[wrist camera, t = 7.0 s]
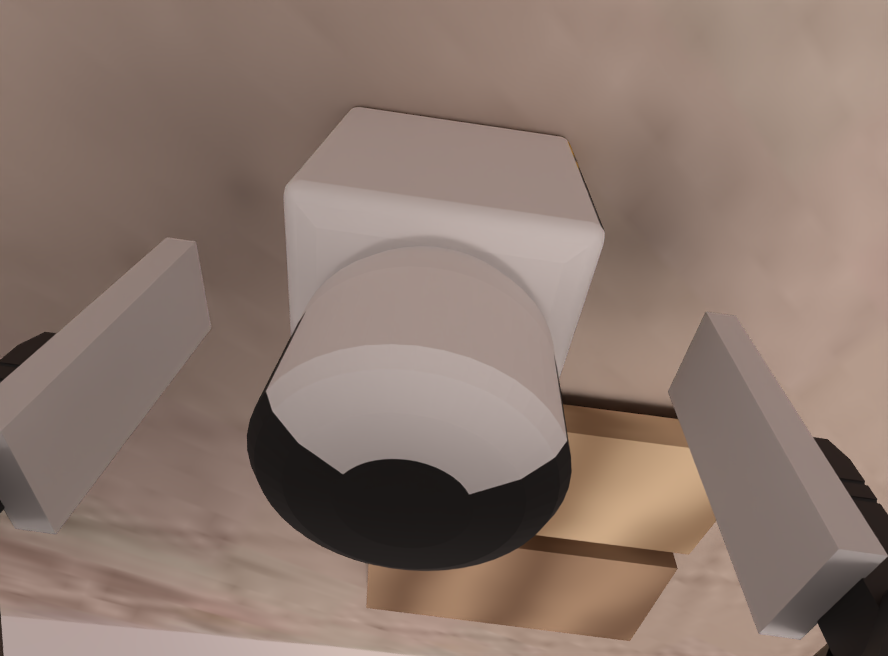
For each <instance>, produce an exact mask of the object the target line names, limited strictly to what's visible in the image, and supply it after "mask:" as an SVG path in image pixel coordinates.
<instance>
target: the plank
mask: <svg viewBox="0 0 888 656" xmlns="http://www.w3.org/2000/svg"><path fill="white" fill-rule="evenodd" d="M563 408H564V415H565V421H566V427H567V434H568V440H569V446H570V453H571V468H572V473H571V479H570V484H569V488H568V491H567V493H566V496H565V498H564V501H563V502H562V504H561V506H560V507H559V509H558V510H557V512H556V513H555V515H554V516H553V517H552V518H551V519H550V520H549V521H548V522H547V523H546V524H545V525H544V527H543V528H542V529H541V530H540V531H539V532H538V533H537V534H536V535H540V536H547V537H555V538H563V539H571V540H579V541H587V542H595V543H602V544H610V545H618V546H626V547H634V548H642V549H650V550H658V551H665V552H673V553H681V554H690V552H691V551H692V550H693V549H694V548H695V546H696V545H697V544H698V543H699V541H700V540H701V539H702V538H703V536H704V535H705V534H706V533H707V531H708V530H709V529H710V528H711V527H712V525H713V524H714V523H715V522H716V518H715V516H714V513H713V510H712V508H711V505H710V502H709V500H708V497H707V494H706V492H705V489H704V486H703V484H702V481H701V478H700V476H699V473H698V470H697V468H696V465H695V462H694V460H693V457H692V454H691V452H690V449H689V446H688V444H687V441H686V438H685V436H684V433H683V430H682V428H681V425H680V422H679V420H678V419H673V418H665V417H658V416H650V415H642V414H634V413H627V412H619V411H611V410H603V409H595V408H588V407H580V406H572V405H564V404H563Z"/></svg>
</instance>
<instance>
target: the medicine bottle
mask: <svg viewBox="0 0 888 656" xmlns="http://www.w3.org/2000/svg"><path fill="white" fill-rule="evenodd" d="M283 198H284V216H285V235H286V253H287V272H288V291H289V309H290V328H291V337H290V339H289V341H288V343H287V345H286V347H285V349H284V351H283V353H282V355H281V357H280V359H279V361H278V363H277V365H276V367H275V369H274V371H273V373H272V375H271V377H270V379H269V381H268V383H267V385H266V387H265V389H264V391H263V393H262V395H261V396H260V398H259V400H258V402H257V404H256V407H255V409H254V411H253V414H252V416H251V418H250V422H249V427H248V433H247V451H248V455H249V459H250V464H251V467H252V469H253V471H254V474H255V476H256V478H257V481H258V483H259V485H260V487H261V489H262V491H263V493H264V495H265V496H266V498H267V499H268V501H269V502H270V504H271V505H272V507H273V508H274V509H275V510H276V511H277V512H278V514H279V515H280V516H281V517H282V518H283V519H284V520H285V521H286V522H288V523H289V524H290V525H291V526H292V527H293V528H294V529H296V530H297V531H299V532H300V533H301V534H303V535H304V536H305V537H307V538H308V539H310V540H312V541H314V542H315V543H317V544H319V545H321V546H322V547H324V548H327V549H329V550H331V551H333V552H335V553H337V554H340V555H343V556H345V557H348V558H351V559H354V560H357V561H361V562H364V563H368V564H371V565H376V566H381V567H386V568H392V569H401V570H412V571H440V570H451V569H459V568H465V567H470V566H474V565H479V564H482V563H485V562H488V561H491V560H495V559H497V558H499V557H502V556H504V555H506V554H508V553H510V552H512V551H514V550H515V549H517V548H519V547H521V546H522V545H524V544H525V543H526V542H528V541H529V540H530V539H531V538H533V537H534V536H535V535H536V534H537V533H538V532H539V531H540V530H541V529H542V528H543V527H544V525H545V524H546V523H547V522H548V521H549V520H550V519H551V518H552V517H553V516H554V515H555V513H556V512H557V510H558V509H559V507H560V506H561V504H562V502H563V501H564V498H565V496H566V493H567V491H568V488H569V484H570V479H571V473H572V468H571V453H570V446H569V440H568V434H567V427H566V421H565V415H564V408H563V402H562V396H561V389H560V383H559V378H560V375H561V372H562V369H563V366H564V363H565V360H566V357H567V354H568V350H569V347H570V344H571V341H572V338H573V335H574V332H575V329H576V326H577V323H578V320H579V317H580V314H581V311H582V308H583V305H584V302H585V299H586V296H587V293H588V290H589V287H590V284H591V281H592V278H593V275H594V272H595V268H596V265H597V262H598V259H599V256H600V253H601V250H602V247H603V244H604V240H605V231H604V229H603V226H602V224H601V221H600V219H599V216H598V214H597V211H596V209H595V206H594V203H593V201H592V198H591V196H590V193H589V191H588V188H587V186H586V183H585V181H584V178H583V176H582V173H581V171H580V168H579V166H578V163H577V161H576V158H575V156H574V153H573V151H572V148H571V146H570V144H569V142H568V140H567V139H565V138H563V137H560V136H553V135H546V134H539V133H533V132H526V131H519V130H512V129H505V128H499V127H492V126H485V125H478V124H471V123H465V122H458V121H451V120H444V119H438V118H431V117H424V116H417V115H410V114H404V113H397V112H390V111H383V110H376V109H370V108H363V107H355V108H352V109H351V110H350V111H349V112H348V113H347V114H346V115H345V116H344V118H343V119H342V120H341V121H340V122H339V123H338V125H337V126H336V127H335V128H334V129H333V131H332V132H331V133H330V134H329V135H328V136H327V138H326V139H325V140H324V141H323V142H322V144H321V145H320V146H319V147H318V148H317V149H316V151H315V152H314V153H313V154H312V155H311V156H310V158H309V159H308V160H307V161H306V162H305V164H304V165H303V166H302V167H301V168H300V169H299V171H298V172H297V173H296V174H295V175H294V177H293V178H292V179H291V180H290V181H289V182H288V184H287V185H286V187H285V191H284V197H283Z"/></svg>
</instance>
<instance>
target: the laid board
mask: <svg viewBox="0 0 888 656" xmlns="http://www.w3.org/2000/svg"><path fill="white" fill-rule="evenodd" d="M677 569H678V568H677V565H676V562H675V558H674V555H673V552H665V551H658V550H650V549H642V548H634V547H626V546H618V545H610V544H602V543H595V542H587V541H579V540H571V539H563V538H555V537H547V536H540V535H535V536H534V537H533V538H531V539H530V540H529V541H528V542H526V543H525V544H524V545H522V546H521V547H519V548H517V549H515V550H514V551H512V552H510V553H508V554H506V555H504V556H502V557H499V558H497V559H495V560H491V561H488V562H485V563H482V564H479V565H474V566H470V567H465V568H459V569H451V570H440V571H412V570H401V569H392V568H386V567H381V566H376V565H371V564H369V565H368V586H367V607H366V608H372V609H380V610H388V611H396V612H404V613H412V614H420V615H428V616H436V617H444V618H452V619H460V620H468V621H475V622H483V623H491V624H499V625H507V626H515V627H523V628H531V629H539V630H547V631H555V632H563V633H571V634H579V635H586V636H594V637H602V638H610V639H618V640H626V641H630V640H631V638H632V637H633V635H634V634H635V632H636V631H637V629H638V628H639V626H640V625H641V623H642V622H643V620H644V619H645V617H646V616H647V614H648V613H649V611H650V610H651V608H652V607H653V605H654V604H655V602H656V601H657V599H658V598H659V596H660V594H661V593H662V591H663V590H664V588H665V587H666V585H667V584H668V582H669V581H670V579H671V578H672V576H673V575H674V573H675V572H676V570H677Z"/></svg>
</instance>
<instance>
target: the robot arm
mask: <svg viewBox="0 0 888 656" xmlns="http://www.w3.org/2000/svg"><path fill="white" fill-rule="evenodd" d="M210 330H211V322H210V317H209V311H208V305H207V300H206V294H205V289H204V283H203V277H202V272H201V266H200V260H199V255H198V249H197V244H196V241H190V240H183V239H176V238H168V237H166V238H165V239H164V240H163V241H162V242H161V243H159V244H158V245H157V246H156V247H155V248H154V249H153V250H151V251H150V252H149V253H148V254H147V255H146V256H145V257H143V258H142V259H141V260H140V261H139V262H138V263H137V264H135V265H134V266H133V267H132V268H131V269H130V270H129V271H127V272H126V273H125V274H124V275H123V276H122V277H121V278H119V279H118V280H117V281H116V282H115V283H114V284H113V285H111V286H110V287H109V288H108V289H107V290H106V291H105V292H103V293H102V294H101V295H100V296H99V297H98V298H97V299H95V300H94V301H93V302H92V303H91V304H90V305H89V306H87V307H86V308H85V309H84V310H83V311H82V312H81V313H79V314H78V315H77V316H76V317H75V318H74V319H73V320H71V321H70V322H69V323H68V324H67V325H66V326H65V327H63V328H62V329H61V330H60V331H59V332H58V333H50V332H44V333H42V334H40V335H38V336H36V337H34V338H32V339H30V340H28V341H25V342H23V343H21V344H19V345H18V346H16V347H15V348H14V349H13V350H12V351H10V352H9V353H8V354H7V355H6V356H4V357H3V358H2V359H1V360H0V513H1V512H2V511H3V509H4V511H5V512H6V514H7V516H8V517H9V519H10V521H11V522H12V524H13V526H14V527H15V529H22V530H29V531H36V532H43V533H50V534H57V532H58V531H59V530H60V528H61V527H62V526H63V524H64V523H65V522H66V520H67V519H68V518H69V516H70V515H71V514H72V512H73V511H74V510H75V508H76V507H77V506H78V504H79V503H80V502H81V501H82V499H83V498H84V497H85V495H86V494H87V493H88V491H89V490H90V489H91V487H92V486H93V485H94V483H95V482H96V481H97V479H98V478H99V477H100V475H101V474H102V473H103V471H104V470H105V469H106V467H107V466H108V465H109V463H110V462H111V461H112V459H113V458H114V457H115V455H116V454H117V453H118V451H119V450H120V449H121V447H122V446H123V445H124V444H125V442H126V441H127V440H128V438H129V437H130V436H131V434H132V433H133V432H134V430H135V429H136V428H137V426H138V425H139V424H140V422H141V421H142V420H143V418H144V417H145V416H146V414H147V413H148V412H149V410H150V409H151V408H152V406H153V405H154V404H155V402H156V401H157V400H158V398H159V397H160V396H161V394H162V393H163V392H164V390H165V389H166V388H167V387H168V385H169V384H170V383H171V381H172V380H173V379H174V377H175V376H176V375H177V373H178V372H179V371H180V369H181V368H182V367H183V365H184V364H185V363H186V361H187V360H188V359H189V357H190V356H191V355H192V353H193V352H194V351H195V349H196V348H197V347H198V345H199V344H200V343H201V341H202V340H203V339H204V337H205V336H206V335H207V333H208V332H209V331H210ZM668 393H669V396H670V398H671V401H672V404H673V406H674V409H675V412H676V414H677V417H678V420H679V422H680V425H681V428H682V430H683V433H684V436H685V438H686V441H687V444H688V446H689V449H690V452H691V454H692V457H693V460H694V462H695V465H696V468H697V470H698V473H699V476H700V478H701V481H702V484H703V486H704V489H705V492H706V494H707V497H708V500H709V502H710V505H711V508H712V510H713V513H714V516H715V518H716V521H717V524H718V526H719V529H720V532H721V534H722V537H723V540H724V542H725V545H726V548H727V550H728V553H729V556H730V558H731V561H732V564H733V566H734V569H735V572H736V574H737V577H738V580H739V582H740V585H741V588H742V590H743V593H744V596H745V598H746V601H747V604H748V606H749V609H750V612H751V614H752V617H753V620H754V622H755V625H756V628H757V630H758V633H759V634H763V635H770V636H777V637H784V638H791V639H798V640H801V639H802V638H803V637H804V636H805V635H806V634H807V633H808V632H809V631H810V630H811V629H812V628H813V627H814V626H815V625H816V624H817V623H818V625H819V627H820V629H821V631H822V633H823V635H824V638H825V640H826V642H827V644H826V645H825V646H824V647H823V648H822V649H820V650H819V651H818V652H817V653H816V654H815V655H814V656H888V514H887V513H886V511H885V510H884V509H883V507H882V506H881V504H878V503H877V498H876V497H875V495H874V494H873V492H872V491H871V489H870V488H869V486H867V485H865V484H864V482H865V481H864V479H863V478H862V476H861V475H860V473H859V472H858V470H857V469H856V467H855V466H854V464H853V463H852V461H851V460H850V459H849V458H848V457H847V456H846V455H845V454H843V453H842V452H841V451H840V450H839V449H838V448H837V447H836V446H835V445H833V444H832V443H831V442H830V441H829V440H828V439H822V438H815V437H812V435H811V433H810V432H809V430H808V429H807V427H806V425H805V424H804V422H803V421H802V419H801V418H800V416H799V414H798V413H797V411H796V410H795V408H794V407H793V405H792V403H791V402H790V400H789V399H788V397H787V396H786V394H785V392H784V391H783V389H782V388H781V386H780V385H779V383H778V381H777V380H776V378H775V377H774V375H773V374H772V372H771V370H770V369H769V367H768V366H767V364H766V362H765V361H764V359H763V358H762V356H761V355H760V353H759V351H758V350H757V348H756V347H755V345H754V344H753V342H752V340H751V339H750V337H749V336H748V334H747V333H746V331H745V329H744V328H743V326H742V325H741V323H740V322H739V320H738V318H737V317H736V316H734V315H727V314H720V313H712V312H705V315H704V317H703V319H702V321H701V323H700V325H699V327H698V329H697V331H696V333H695V336H694V338H693V340H692V342H691V344H690V346H689V348H688V350H687V352H686V355H685V357H684V359H683V361H682V363H681V365H680V367H679V369H678V371H677V374H676V376H675V378H674V380H673V382H672V384H671V386H670V388H669V390H668ZM0 656H4V655H3V641H2V628H1V614H0Z"/></svg>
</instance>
